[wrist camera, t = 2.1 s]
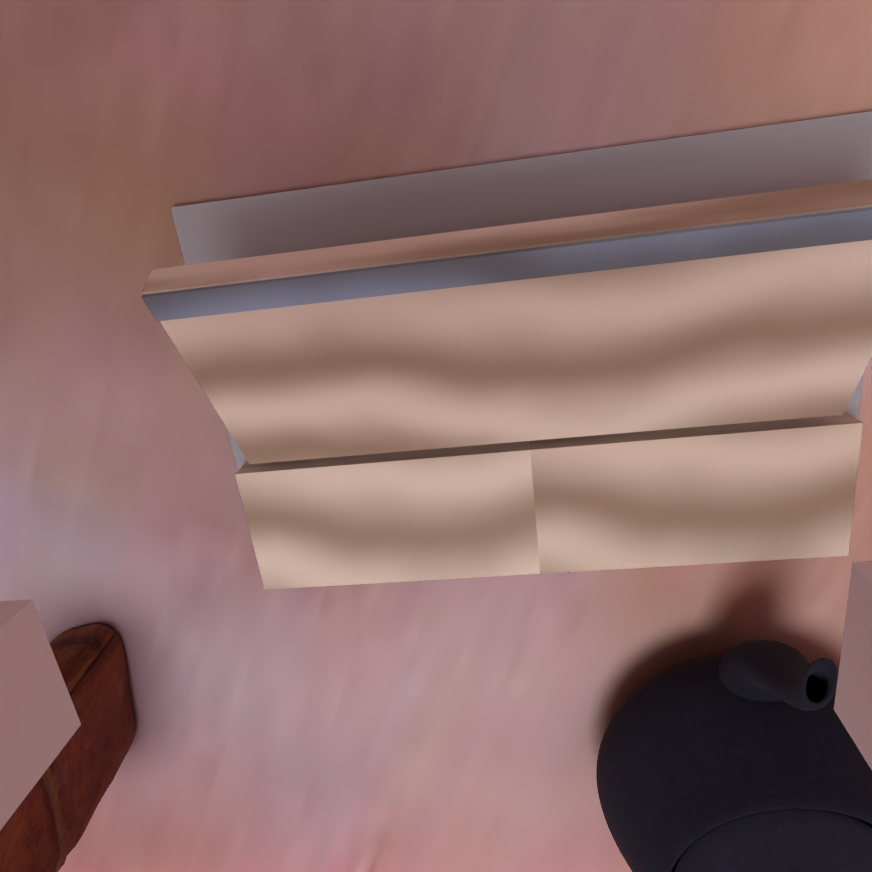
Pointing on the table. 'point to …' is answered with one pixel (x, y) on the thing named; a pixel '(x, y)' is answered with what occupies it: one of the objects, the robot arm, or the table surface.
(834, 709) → the robot arm
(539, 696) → the table surface
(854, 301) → the plank
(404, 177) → the tray
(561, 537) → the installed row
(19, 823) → the wooden figurine
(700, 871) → the teapot
